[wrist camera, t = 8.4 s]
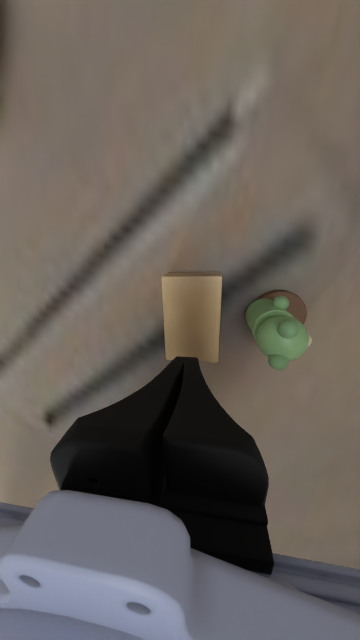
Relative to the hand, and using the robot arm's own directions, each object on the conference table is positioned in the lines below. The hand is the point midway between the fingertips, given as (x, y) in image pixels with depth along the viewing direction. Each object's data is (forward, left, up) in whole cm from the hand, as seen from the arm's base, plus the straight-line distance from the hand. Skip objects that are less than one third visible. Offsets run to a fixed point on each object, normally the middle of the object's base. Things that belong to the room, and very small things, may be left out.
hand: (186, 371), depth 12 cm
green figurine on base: (+5, +1, -9) cm, 10 cm away
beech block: (0, +1, -9) cm, 9 cm away
